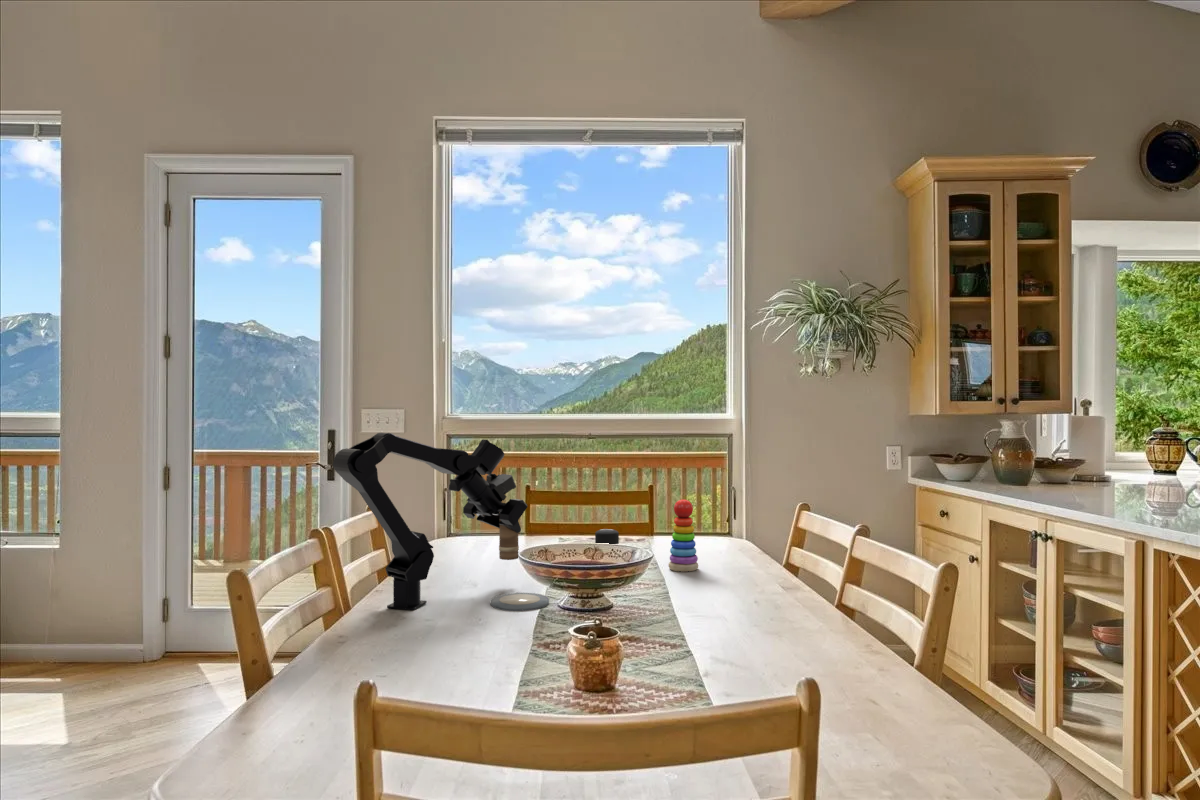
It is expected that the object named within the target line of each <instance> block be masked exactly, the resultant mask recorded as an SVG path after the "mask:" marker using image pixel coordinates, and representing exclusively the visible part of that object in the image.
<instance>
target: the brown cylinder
mask: <svg viewBox="0 0 1200 800" xmlns="http://www.w3.org/2000/svg"><path fill="white" fill-rule="evenodd" d="M500 521H501V520H500ZM498 529H499V531H498V533H499V539H498V540H499V543H498V544H499V545H498V551H499V553H498V554H499V557H498V558H499V559H500V560H503V561H513V560H518V559H519V550H520V549H519V548H520V547H519V533H517V532H514V531H512V530H510V529H508V528H506V527H504V526H502V525H500V526H499V528H498Z"/></svg>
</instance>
